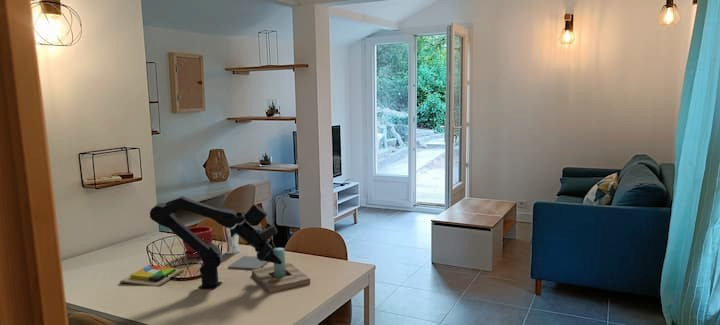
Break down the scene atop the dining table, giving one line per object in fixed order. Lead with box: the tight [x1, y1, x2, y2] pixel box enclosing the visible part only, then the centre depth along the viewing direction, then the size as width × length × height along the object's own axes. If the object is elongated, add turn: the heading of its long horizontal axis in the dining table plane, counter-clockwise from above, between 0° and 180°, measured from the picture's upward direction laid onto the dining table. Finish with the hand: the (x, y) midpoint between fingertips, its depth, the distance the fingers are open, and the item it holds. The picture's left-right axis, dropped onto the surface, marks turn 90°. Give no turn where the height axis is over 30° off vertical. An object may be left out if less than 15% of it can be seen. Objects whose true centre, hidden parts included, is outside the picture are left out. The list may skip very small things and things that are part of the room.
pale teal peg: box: [273, 247, 287, 279], centre depth 196 cm, size 4×4×12 cm
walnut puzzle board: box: [251, 262, 311, 293], centre depth 196 cm, size 22×16×2 cm
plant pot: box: [182, 226, 213, 259], centre depth 230 cm, size 13×13×12 cm
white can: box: [223, 224, 241, 255], centre depth 232 cm, size 7×7×15 cm
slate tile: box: [227, 255, 270, 271], centre depth 216 cm, size 14×14×1 cm
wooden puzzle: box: [119, 264, 185, 287], centre depth 204 cm, size 18×19×4 cm
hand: (280, 259), depth 195 cm, fingers open, 9 cm apart
